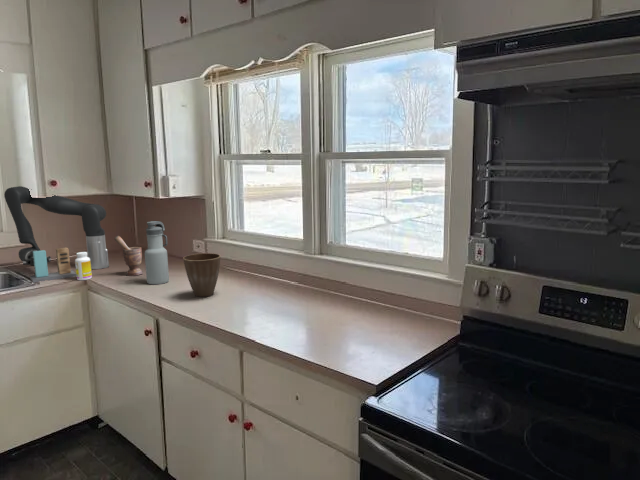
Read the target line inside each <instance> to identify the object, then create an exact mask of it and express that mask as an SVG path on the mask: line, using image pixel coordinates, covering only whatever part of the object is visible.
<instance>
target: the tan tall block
mask: <svg viewBox="0 0 640 480" xmlns="http://www.w3.org/2000/svg"><path fill="white" fill-rule="evenodd" d="M55 254H56V262H57V263H56V264H57V272H58V273H59V274H64V273H71V270H72V268H71V260H70V250H69V248H68V247H61V248H55Z"/></svg>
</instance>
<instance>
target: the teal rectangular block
mask: <svg viewBox="0 0 640 480" xmlns="http://www.w3.org/2000/svg"><path fill="white" fill-rule="evenodd" d="M40 250H41V249H40ZM46 257H47V251H46V250H45V249H42V250H41V251H33V258H34V266H33V267H34V275H35V276H36V277H43V276H48V273H49V268H48V263H47V258H46Z"/></svg>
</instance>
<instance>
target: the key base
mask: <svg viewBox="0 0 640 480" xmlns="http://www.w3.org/2000/svg"><path fill="white" fill-rule="evenodd" d="M75 277H76V278H77V276H76V271H74V270H72V269H71V273H64V274H59V273H58V271H57V272H56V271H55V272H48V276H43V277H36V276H35V274H33V275H29V279H30V280H31V282H32V283H39V281H41V282H46V281H45V280H48V281H54V279H55V280H60V279H68V278H75Z"/></svg>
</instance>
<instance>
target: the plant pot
mask: <svg viewBox="0 0 640 480" xmlns="http://www.w3.org/2000/svg"><path fill="white" fill-rule="evenodd" d="M182 260H183V264H184V269H185V273H186V276H187V279H188V280H187V281H188V282H189V285H190V287H191V290H192V292H193V294H194V296H195V297H199V298H204V297H211V296H213V295H214V292H215V289H216V287H217V282H218V276H219V273H220V265H221V254H218V253H212V252H209V253H208V252H206V253H205V252H204V253H202V252H201V253H194V254H188V255H185V256H183V257H182Z"/></svg>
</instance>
